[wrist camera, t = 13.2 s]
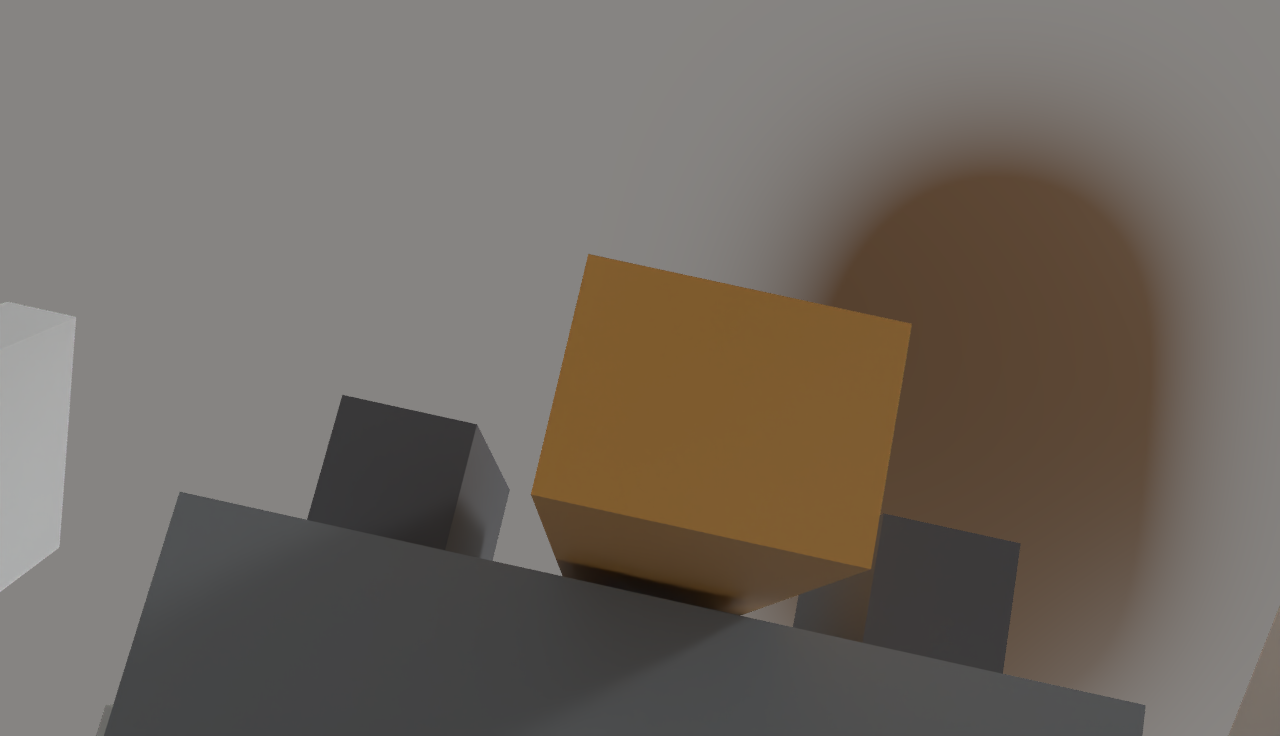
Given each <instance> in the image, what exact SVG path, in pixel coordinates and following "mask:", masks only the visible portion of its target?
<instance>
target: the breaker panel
mask: <svg viewBox="0 0 1280 736" xmlns="http://www.w3.org/2000/svg"><path fill="white" fill-rule="evenodd" d="M508 494H509V488H508V486H507V484H506V482H505V480H504V478H503V476H502V474H501V472H500V470H499V468H498V466H497V464H496V462H495V460H494V458H493V456H492V454H491V452H490V450H489V448H488V446H487V444H486V442H485V440H484V438H483V436H482V434H481V432H480V430H479V428H478V426H477V424H472V423H468V422H463V421H458V420H454V419H449V418H445V417H440V416H436V415H431V414H427V413H422V412H418V411H413V410H408V409H404V408H399V407H395V406H390V405H385V404H381V403H377V402H372V401H367V400H363V399H358V398H354V397H349V396H345V395H343V396H342V399H341V402H340V406H339V410H338V413H337V416H336V420H335V423H334V427H333V430H332V434H331V438H330V441H329V445H328V448H327V452H326V455H325V459H324V462H323V466H322V469H321V473H320V476H319V480H318V483H317V487H316V490H315V494H314V498H313V501H312V505H311V508H310V512H309V515H308V519H307V520H305V519H300V518H296V517H291V516H287V515H282V514H278V513H273V512H269V511H264V510H260V509H255V508H251V507H246V506H242V505H237V504H233V503H228V502H224V501H219V500H215V499H210V498H206V497H200V496H197V495H192V494H187V493H183V492H180V493H179V496H178V499H177V503H176V505H175V509H174V512H173V515H172V518H171V521H170V525H169V528H168V531H167V534H166V537H165V541H164V544H163V547H162V551H161V554H160V557H159V560H158V563H157V566H156V570H155V573H154V576H153V580H152V582H151V586H150V589H149V592H148V595H147V599H146V602H145V605H144V608H143V611H142V615H141V618H140V621H139V624H138V627H137V631H136V634H135V637H134V641H133V644H132V647H131V650H130V653H129V656H128V659H127V663H126V666H125V669H124V672H123V676H122V679H121V682H120V685H119V689H118V692H117V695H116V698H115V702H114V704H113V705H106V706H105V709H104V712H103V715H102V719H101V722H100V725H99V728H98V732H97V735H96V736H1142V733H1143V724H1144V714H1145V705H1141V704H1137V703H1133V702H1128V701H1123V700H1119V699H1114V698H1110V697H1105V696H1101V695H1096V694H1091V693H1087V692H1083V691H1078V690H1073V689H1069V688H1065V687H1060V686H1055V685H1051V684H1046V683H1042V682H1038V681H1033V680H1029V679H1024V678H1019V677H1015V676H1010V675H1006V674H1003V667H1004V660H1005V653H1006V645H1007V638H1008V630H1009V624H1010V615H1011V609H1012V602H1013V594H1014V587H1015V580H1016V572H1017V565H1018V558H1019V550H1020V543H1016V542H1011V541H1006V540H1002V539H997V538H993V537H988V536H984V535H979V534H975V533H970V532H965V531H961V530H956V529H952V528H947V527H943V526H938V525H933V524H929V523H924V522H920V521H915V520H911V519H906V518H901V517H897V516H892V515H888V514H882V515H880V518H879V524H878V530H877V536H876V542H875V548H874V554H873V560H872V566H871V569H870V570H867V571H864V572H862V573H859V574H856V575H853V576H850V577H848V578H845V579H842V580H839V581H836V582H833V583H831V584H828V585H825V586H822V587H819V588H817V589H814V590H811V591H808V592H805V593H802V594H800V595H799V597H798V602H797V608H796V613H795V619H794V624H793V627H789V626H784V625H779V624H775V623H770V622H766V621H762V620H757V619H752V618H748V617H744V616H739V615H735V614H730V613H726V612H721V611H717V610H712V609H707V608H703V607H698V606H694V605H689V604H685V603H680V602H676V601H671V600H667V599H662V598H658V597H653V596H649V595H644V594H640V593H635V592H631V591H626V590H622V589H617V588H613V587H608V586H603V585H599V584H594V583H590V582H585V581H581V580H576V579H572V578H567V577H563V576H558V575H553V574H549V573H545V572H540V571H536V570H531V569H526V568H522V567H517V566H513V565H508V564H503V563H499V562H494V561H492V560H493V556H494V552H495V548H496V544H497V539H498V535H499V531H500V527H501V523H502V519H503V515H504V510H505V506H506V503H507V498H508Z"/></svg>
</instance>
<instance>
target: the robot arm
mask: <svg viewBox="0 0 1280 736" xmlns="http://www.w3.org/2000/svg"><path fill="white" fill-rule="evenodd" d="M75 324H76V317H74V316H70V315H65V314H60V313H56V312H51V311H47V310H43V309H38V308H34V307H29V306H25V305H20V304H15V303H11V302H5V303H2V304H0V591H2V590H3V589H5V588H6V587H7V586H8V585H10V584H11V583H12V582H14V581H15V580H16V579H18V578H19V577H20V576H22V575H23V574H24V573H26V572H27V571H28V570H30V569H31V568H32V567H34V566H35V565H36V564H38V563H39V562H40V561H42V560H43V559H44V558H46V557H47V556H48V555H50V554H51V553H52V552H54V551H55V550H56V549H58V548H59V546H60V532H61V519H62V518H61V517H62V505H63V489H64V477H65V463H66V449H67V435H68V421H69V407H70V393H71V380H72V365H73V350H74V337H75ZM1228 736H1280V607H1279V609H1278V612H1277V614H1276V617H1275V619H1274V622H1273V624H1272V627H1271V629H1270V632H1269V634H1268V637H1267V639H1266V642H1265V645H1264V647H1263V649H1262V652H1261V654H1260V657H1259V660H1258V662H1257V665H1256V667H1255V670H1254V672H1253V675H1252V677H1251V680H1250V682H1249V685H1248V687H1247V690H1246V693H1245V695H1244V697H1243V700H1242V703H1241V705H1240V708H1239V710H1238V713H1237V715H1236V718H1235V720H1234V723H1233V725H1232V728H1231V730H1230V733H1229V735H1228Z"/></svg>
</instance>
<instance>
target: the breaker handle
mask: <svg viewBox="0 0 1280 736" xmlns="http://www.w3.org/2000/svg"><path fill="white" fill-rule="evenodd" d="M911 326H912V324H910V323H905V322H901V321H896V320H891V319H887V318H882V317H878V316H873V315H868V314H863V313H859V312H854V311H849V310H845V309H840V308H835V307H831V306H827V305H822V304H817V303H813V302H808V301H803V300H799V299H794V298H790V297H784V296H780V295H776V294H771V293H766V292H761V291H757V290H753V289H747V288H743V287H739V286H734V285H729V284H725V283H720V282H716V281H711V280H706V279H702V278H697V277H692V276H687V275H683V274H678V273H674V272H669V271H665V270H660V269H655V268H651V267H646V266H641V265H636V264H632V263H628V262H623V261H618V260H614V259H609V258H604V257H599V256H595V255H590V254H588V258H587V262H586V266H585V271H584V275H583V279H582V283H581V287H580V292H579V296H578V300H577V304H576V308H575V312H574V317H573V321H572V325H571V329H570V333H569V338H568V342H567V346H566V350H565V354H564V359H563V363H562V367H561V371H560V375H559V379H558V384H557V388H556V392H555V397H554V400H553V405H552V409H551V413H550V417H549V421H548V426H547V430H546V434H545V438H544V442H543V446H542V450H541V455H540V459H539V463H538V467H537V471H536V476H535V480H534V484H533V488H532V492H531V496H532V498H533V501H534V503H535V506H536V509H537V511H538V514H539V516H540V519H541V521H542V524H543V527H544V529H545V532H546V534H547V537H548V539H549V542H550V544H551V547H552V550H553V552H554V555H555V557H556V560H557V563H558V565H559V568H560V570H561V573H562V576H563V577H567V578H572V579H576V580H581V581H585V582H590V583H594V584H599V585H603V586H608V587H613V588H617V589H622V590H626V591H631V592H635V593H640V594H644V595H649V596H653V597H658V598H662V599H667V600H671V601H676V602H680V603H685V604H689V605H694V606H698V607H703V608H707V609H712V610H717V611H721V612H726V613H730V614H735V615H739V616H740V615H743V614H746V613H749V612H752V611H754V610H757V609H760V608H763V607H765V606H769V605H771V604H774V603H777V602H780V601H783V600H785V599H788V598H791V597H794V596H797V595H800V594H802V593H805V592H808V591H811V590H814V589H817V588H819V587H822V586H825V585H828V584H831V583H833V582H836V581H839V580H842V579H845V578H848V577H850V576H853V575H856V574H859V573H862V572H864V571H867V570H870V569H871V566H872V560H873V554H874V548H875V542H876V536H877V530H878V524H879V518H880V511H881V506H882V499H883V493H884V488H885V482H886V476H887V469H888V463H889V458H890V451H891V445H892V440H893V434H894V428H895V421H896V415H897V410H898V404H899V398H900V392H901V386H902V380H903V374H904V368H905V362H906V355H907V350H908V344H909V338H910V332H911Z"/></svg>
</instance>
